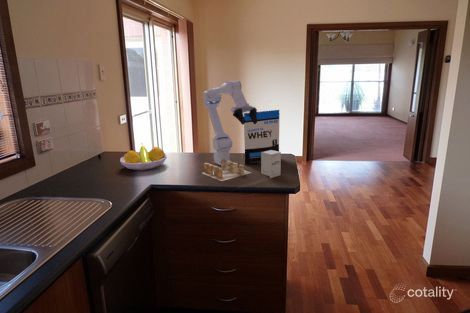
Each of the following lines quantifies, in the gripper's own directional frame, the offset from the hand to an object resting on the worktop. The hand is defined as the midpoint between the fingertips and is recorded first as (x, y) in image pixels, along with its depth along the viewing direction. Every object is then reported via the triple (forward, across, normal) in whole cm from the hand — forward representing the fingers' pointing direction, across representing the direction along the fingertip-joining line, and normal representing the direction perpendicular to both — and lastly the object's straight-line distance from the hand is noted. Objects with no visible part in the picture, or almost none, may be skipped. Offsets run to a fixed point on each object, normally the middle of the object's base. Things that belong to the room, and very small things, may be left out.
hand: (249, 123), depth 165 cm
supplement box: (+24, +12, +14) cm, 30 cm away
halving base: (+14, -4, +28) cm, 31 cm away
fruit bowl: (-13, -30, +64) cm, 72 cm away
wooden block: (+12, -11, +29) cm, 33 cm away
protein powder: (+8, +27, +31) cm, 41 cm away
